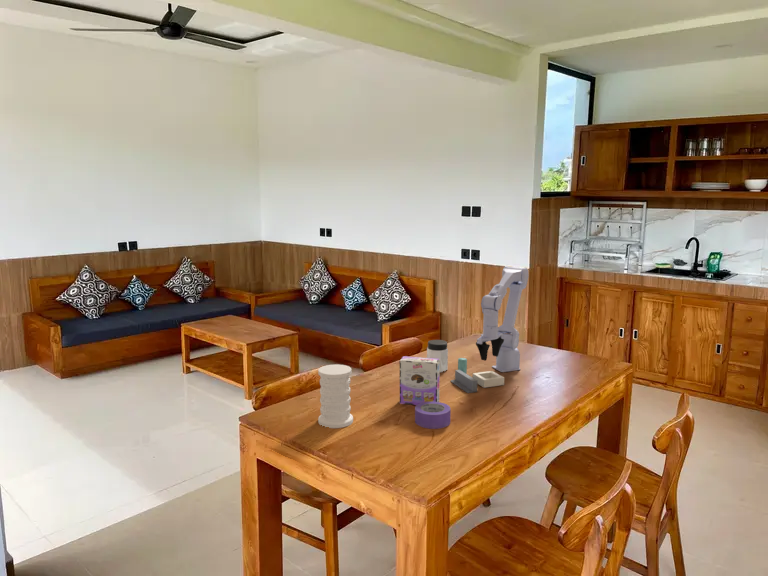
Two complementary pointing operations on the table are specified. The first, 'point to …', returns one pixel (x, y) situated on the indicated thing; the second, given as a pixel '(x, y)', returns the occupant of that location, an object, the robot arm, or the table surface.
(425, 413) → the tape roll
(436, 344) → the jar
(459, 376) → the wall
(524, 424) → the table surface
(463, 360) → the dowel
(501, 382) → the block
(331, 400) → the decorative container
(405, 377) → the candy box
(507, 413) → the table surface
